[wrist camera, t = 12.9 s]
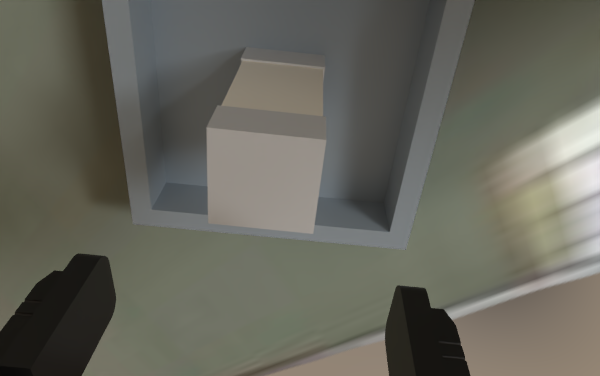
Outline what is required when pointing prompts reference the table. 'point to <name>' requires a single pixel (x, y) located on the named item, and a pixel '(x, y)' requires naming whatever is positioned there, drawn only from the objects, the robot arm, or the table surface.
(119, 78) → the parts tray
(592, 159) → the table surface
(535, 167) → the table surface
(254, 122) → the block
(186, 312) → the table surface
